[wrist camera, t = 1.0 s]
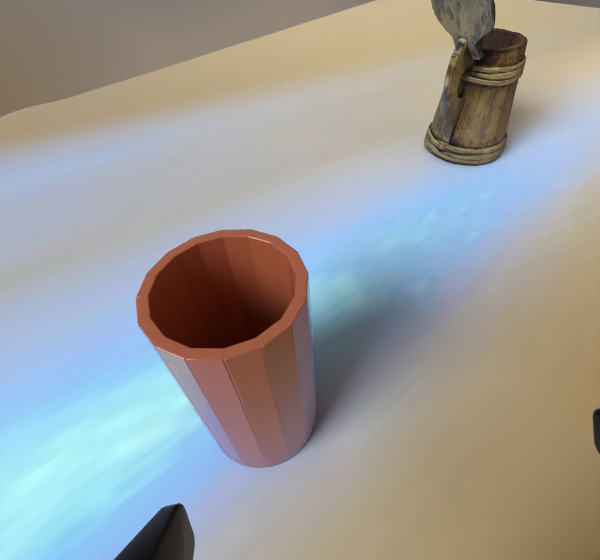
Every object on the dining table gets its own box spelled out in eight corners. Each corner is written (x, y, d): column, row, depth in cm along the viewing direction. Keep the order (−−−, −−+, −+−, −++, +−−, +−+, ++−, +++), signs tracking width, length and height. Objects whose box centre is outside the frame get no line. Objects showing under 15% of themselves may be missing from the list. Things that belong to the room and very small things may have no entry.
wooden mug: (381, 158, 44) (403, -43, 30) (455, 120, 49) (503, -67, 35) (443, 192, 39) (504, -32, 25) (519, 146, 44) (603, -61, 30)
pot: (287, 489, 21) (253, 390, 12) (190, 438, 23) (97, 321, 14) (332, 386, 25) (334, 251, 16) (246, 351, 27) (202, 215, 18)
